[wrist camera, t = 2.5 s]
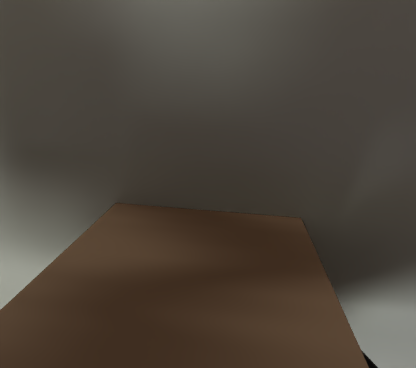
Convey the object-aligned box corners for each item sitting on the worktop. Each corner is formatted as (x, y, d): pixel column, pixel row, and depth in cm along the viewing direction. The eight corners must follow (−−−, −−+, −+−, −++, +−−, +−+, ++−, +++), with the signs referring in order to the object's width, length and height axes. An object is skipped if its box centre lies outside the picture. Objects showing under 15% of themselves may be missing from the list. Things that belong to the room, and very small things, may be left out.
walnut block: (300, 216, 7) (405, 448, 3) (277, 356, 9) (318, 653, 4) (117, 201, 8) (-73, 377, 3) (127, 337, 9) (15, 585, 5)
